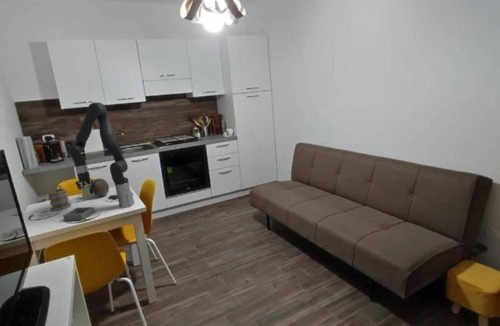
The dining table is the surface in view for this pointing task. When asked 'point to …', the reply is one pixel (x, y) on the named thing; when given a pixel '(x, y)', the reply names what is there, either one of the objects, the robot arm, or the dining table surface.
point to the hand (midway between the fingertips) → (88, 194)
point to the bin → (78, 214)
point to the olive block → (86, 191)
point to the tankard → (59, 199)
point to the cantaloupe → (100, 187)
